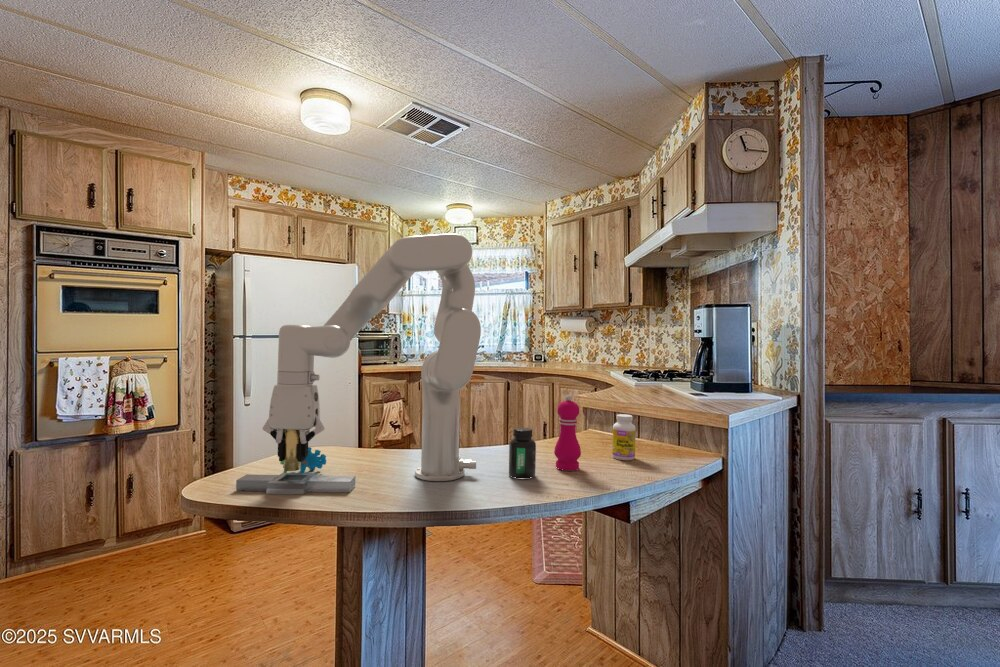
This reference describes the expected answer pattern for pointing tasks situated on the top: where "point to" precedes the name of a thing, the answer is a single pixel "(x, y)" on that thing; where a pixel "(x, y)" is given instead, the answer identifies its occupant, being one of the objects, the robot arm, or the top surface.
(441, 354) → the robot arm
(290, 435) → the gold square peg
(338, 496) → the top surface
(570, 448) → the pepper mill
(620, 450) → the supplement bottle
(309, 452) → the gear
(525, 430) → the supplement bottle
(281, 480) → the grey base plate
